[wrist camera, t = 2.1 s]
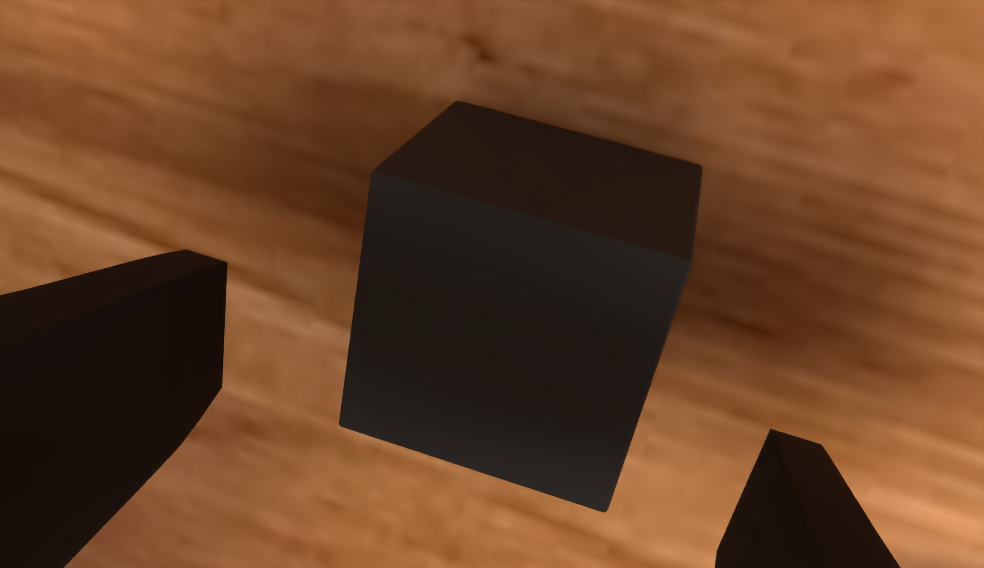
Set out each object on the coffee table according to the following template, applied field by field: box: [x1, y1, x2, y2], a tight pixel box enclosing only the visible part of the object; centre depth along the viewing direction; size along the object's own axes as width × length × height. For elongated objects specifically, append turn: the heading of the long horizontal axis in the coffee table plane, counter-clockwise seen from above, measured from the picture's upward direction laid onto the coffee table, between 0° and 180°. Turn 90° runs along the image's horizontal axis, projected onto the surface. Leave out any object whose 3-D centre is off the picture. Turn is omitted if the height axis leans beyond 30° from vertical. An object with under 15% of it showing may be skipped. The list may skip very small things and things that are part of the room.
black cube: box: [339, 101, 702, 512], centre depth 14 cm, size 4×4×4 cm
